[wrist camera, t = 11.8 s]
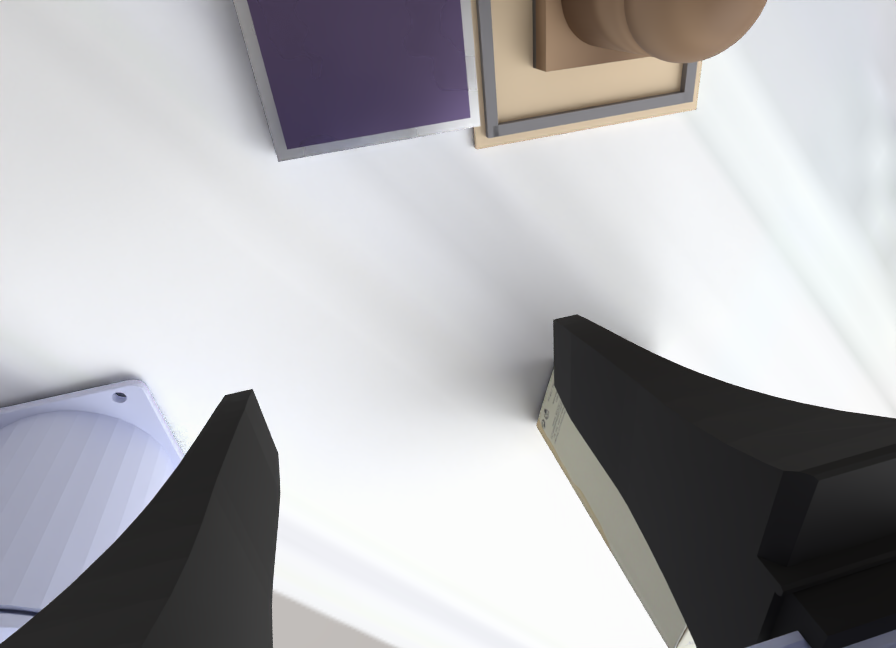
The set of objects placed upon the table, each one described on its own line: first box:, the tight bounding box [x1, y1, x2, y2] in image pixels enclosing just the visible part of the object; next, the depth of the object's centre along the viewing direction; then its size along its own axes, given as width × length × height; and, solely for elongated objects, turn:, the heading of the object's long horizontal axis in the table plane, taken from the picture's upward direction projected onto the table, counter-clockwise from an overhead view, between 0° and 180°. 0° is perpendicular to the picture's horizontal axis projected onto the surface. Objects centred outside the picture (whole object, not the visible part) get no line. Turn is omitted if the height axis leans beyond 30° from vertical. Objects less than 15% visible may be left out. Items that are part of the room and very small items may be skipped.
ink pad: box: [233, 0, 480, 162], centre depth 17 cm, size 7×7×1 cm
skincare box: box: [537, 369, 696, 648], centre depth 23 cm, size 6×4×12 cm
